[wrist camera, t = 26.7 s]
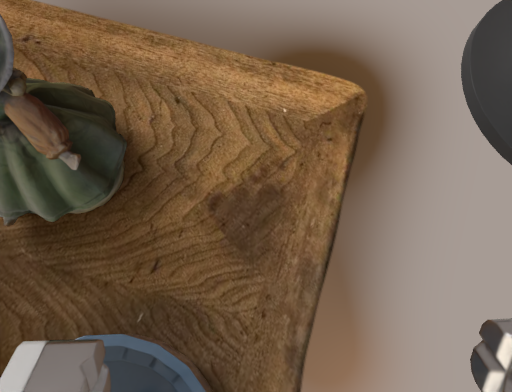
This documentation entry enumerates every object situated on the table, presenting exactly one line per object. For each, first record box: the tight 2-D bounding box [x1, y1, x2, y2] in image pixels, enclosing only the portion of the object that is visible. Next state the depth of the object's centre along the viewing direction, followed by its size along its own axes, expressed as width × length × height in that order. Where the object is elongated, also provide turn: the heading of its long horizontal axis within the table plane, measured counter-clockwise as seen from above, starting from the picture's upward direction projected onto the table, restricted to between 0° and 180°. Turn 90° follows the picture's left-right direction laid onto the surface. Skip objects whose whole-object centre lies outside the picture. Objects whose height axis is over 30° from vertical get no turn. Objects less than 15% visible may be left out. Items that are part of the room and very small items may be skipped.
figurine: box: [0, 15, 127, 226], centre depth 30 cm, size 14×14×20 cm
